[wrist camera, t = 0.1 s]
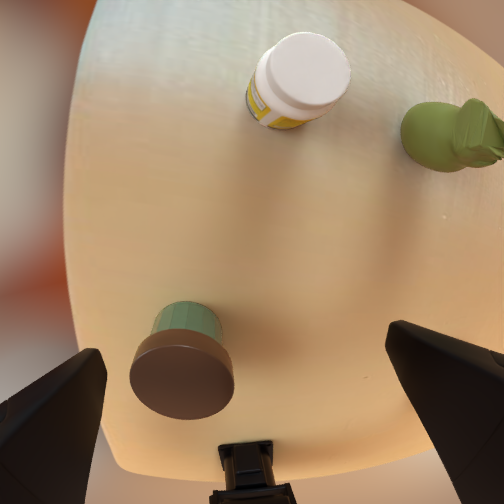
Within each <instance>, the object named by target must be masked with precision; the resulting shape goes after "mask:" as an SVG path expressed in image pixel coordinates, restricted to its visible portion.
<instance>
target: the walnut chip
mask: <svg viewBox="0 0 504 504" xmlns="http://www.w3.org/2000/svg"><path fill="white" fill-rule="evenodd" d="M129 377H130V383H131V387H132V389H133V391H134V393H135V395H136V396H137V397H138V399H139V400H140V401H141V402H142V403H143V404H144V405H146V406H147V407H148V408H150V409H151V410H153V411H155V412H157V413H159V414H161V415H164V416H167V417H170V418H175V419H182V420H194V419H201V418H205V417H209V416H211V415H214V414H216V413H218V412H219V411H221V410H222V409H223V408H224V407H225V406H226V405H227V404H228V403H229V402H230V400H231V398H232V396H233V393H234V376H233V367H232V362H231V359H230V357H229V355H228V353H227V351H226V350H225V349H224V348H223V347H222V346H221V345H220V344H219V343H218V342H217V341H216V340H214V339H213V338H211V337H209V336H207V335H205V334H203V333H200V332H197V331H194V330H189V329H179V328H174V329H166V330H162V331H159V332H156V333H154V334H152V335H150V336H149V337H147V338H146V339H145V340H144V341H143V342H142V343H141V344H140V346H139V347H138V349H137V351H136V354H135V357H134V360H133V363H132V366H131V369H130V376H129Z"/></svg>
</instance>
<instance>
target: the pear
mask: <svg viewBox="0 0 504 504" xmlns="http://www.w3.org/2000/svg"><path fill="white" fill-rule="evenodd" d="M401 140H402V144H403V146H404V148H405V150H406V152H407V153H408V154H409V156H410V157H411V158H412V159H413V160H415V161H416V162H417V163H419V164H420V165H422V166H424V167H426V168H429V169H431V170H434V171H438V172H446V173H449V172H456V171H459V170H461V169H464V168H465V167H473V168H481V167H486V166H489V165H492V164H494V163H495V162H496V161H497V160H502V158H504V122H503V121H502V120H501V119H500V118H498V117H497V116H496V115H495V114H494V113H493V112H492V111H491V110H490V109H489V108H488V106H486V105H485V104H484V103H483V102H482V101H480V100H478V99H475V98H472V99H469V100H468V101H467V102H466V103H465V104H464V105H463V106H462V107H461V108H459V107H457V106H455V105H452V104H448V103H441V102H425V103H420V104H417V105H415V106H414V107H412V108H411V109H410V110H409V111H408V112H407V113H406V115H405V117H404V119H403V121H402V124H401ZM501 157H502V158H501Z"/></svg>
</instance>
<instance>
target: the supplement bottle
mask: <svg viewBox="0 0 504 504" xmlns="http://www.w3.org/2000/svg"><path fill="white" fill-rule="evenodd" d="M350 81H351V69H350V64H349V62H348V59H347V57H346V55H345V54H344V52H343V51H342V50H341V49H340V47H339V46H338V45H336V44H335V43H334V42H333V41H331V40H330V39H328V38H326V37H324V36H322V35H319V34H316V33H311V32H298V33H294V34H291V35H289V36H287V37H285V38H283V39H282V40H281V41H279V42H278V44H277V45H276V46H274V47H272V48H270V49H269V50H268V51H267V52H266V53H265V54H264V55H263V56H262V57H261V59H260V60H259V62H258V64H257V66H256V69H255V71H254V73H253V76H252V78H251V81H250V83H249V86H248V88H247V91H246V104H247V108H248V110H249V112H250V114H251V115H252V117H253V118H254V119H255V120H256V121H257V122H258V123H260V124H261V125H263V126H265V127H267V128H270V129H274V130H287V129H291V128H294V127H296V126H299V125H301V124H304V123H306V122H308V121H311V120H313V119H316V118H318V117H321V116H322V115H324V114H326V113H327V112H328V111H329V110H330V109H331V108H332V107H333V106H334V105H335V103H336V102H337V100H339V99H340V98H341V97H342V96H343V95H344V94H345V93H346V91H347V89H348V87H349V84H350Z"/></svg>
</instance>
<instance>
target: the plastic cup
mask: <svg viewBox="0 0 504 504" xmlns="http://www.w3.org/2000/svg"><path fill="white" fill-rule="evenodd" d="M174 328H179V329H189V330H194V331H197V332H200V333H203V334H205V335H207V336H209V337H211V338H213V339H214V340H216V341H217V342H218V343H219V344H220V345H221V346H222V347H223V339H222V329H221V324H220V322H219V320H218V318H217V317H216V315H215V314H214V313H213V312H212V311H211V310H209V309H208V308H206V307H205V306H203V305H201V304H198V303H194V302H177V303H173V304H170V305H168V306H167V307H165V308H164V309H163V310H162V311H161V312H160V313H159V314H158V315H157V317H156V319H155V322H154V325H153V328H152V331H151V334H150V335H152V334H154V333H156V332H159V331H162V330H166V329H174Z"/></svg>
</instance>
